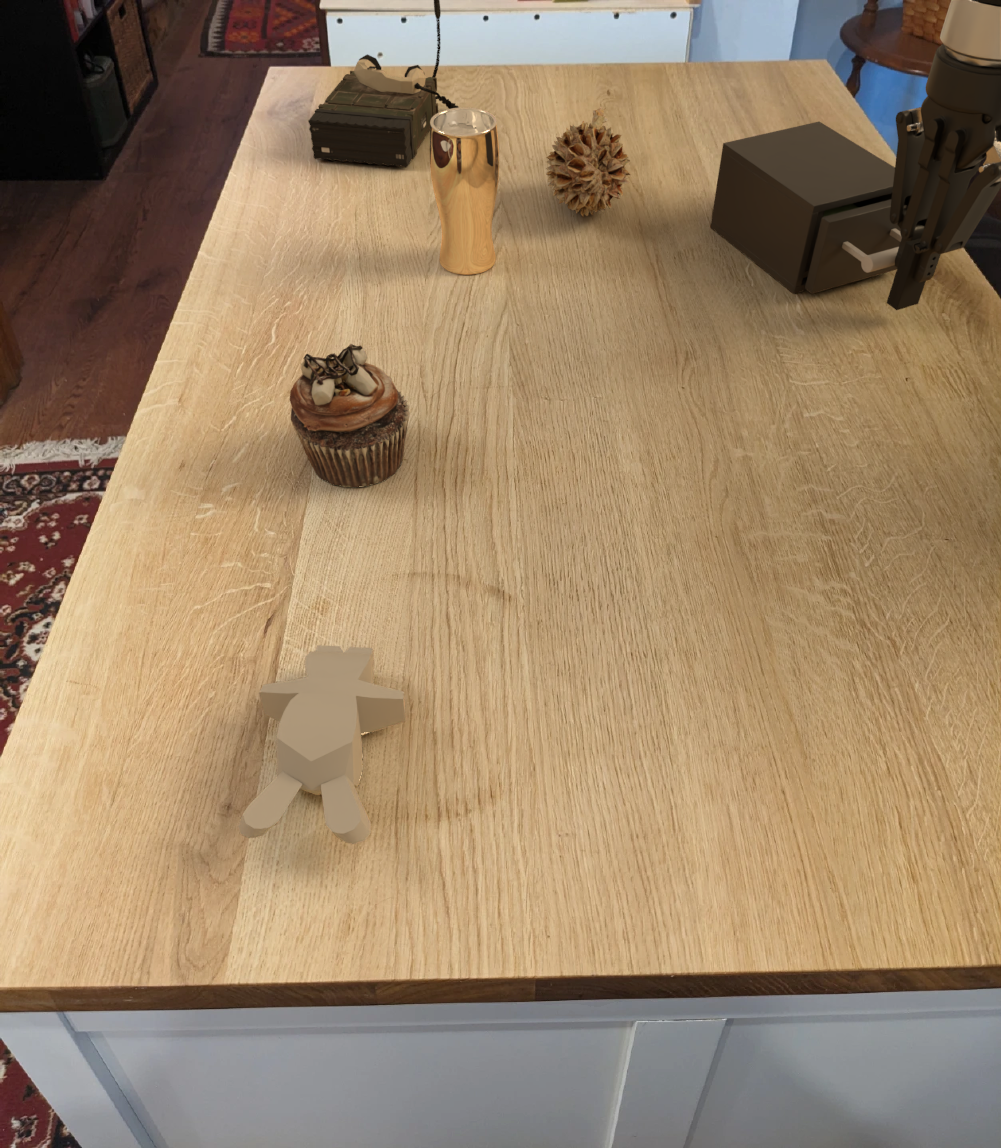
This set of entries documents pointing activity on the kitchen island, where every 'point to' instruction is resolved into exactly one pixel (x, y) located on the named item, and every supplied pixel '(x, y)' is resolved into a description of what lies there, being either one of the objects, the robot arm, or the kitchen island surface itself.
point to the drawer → (852, 245)
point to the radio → (377, 114)
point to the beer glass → (465, 186)
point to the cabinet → (790, 193)
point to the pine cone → (588, 166)
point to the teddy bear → (324, 739)
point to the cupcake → (349, 418)
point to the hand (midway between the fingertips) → (902, 303)
